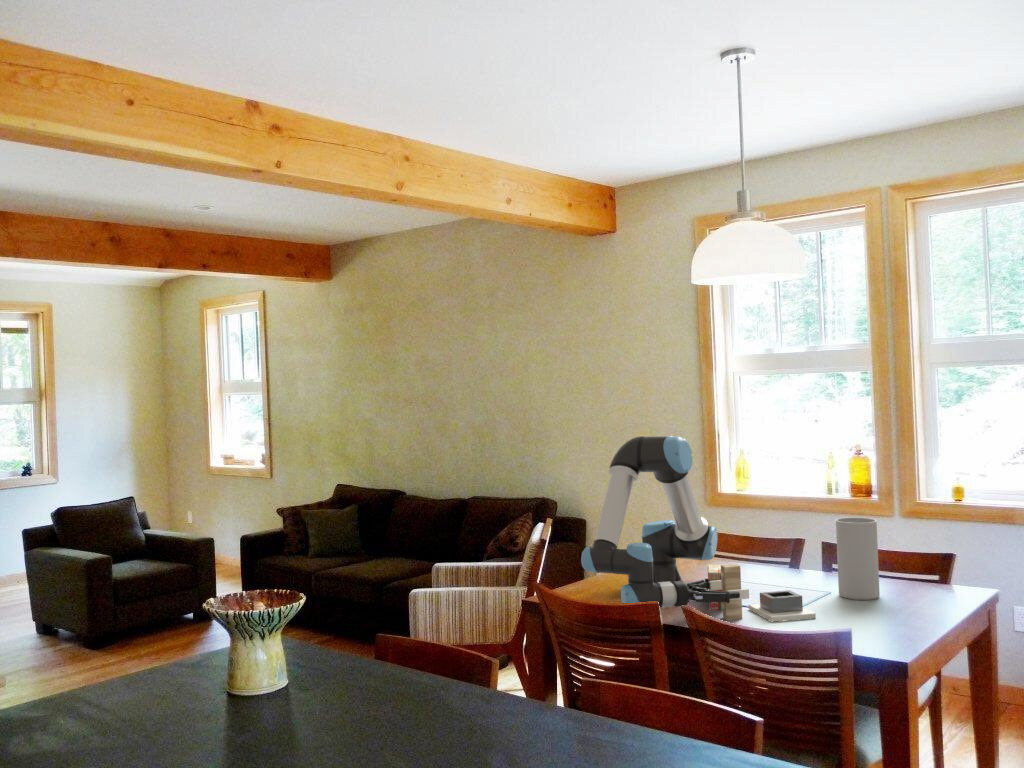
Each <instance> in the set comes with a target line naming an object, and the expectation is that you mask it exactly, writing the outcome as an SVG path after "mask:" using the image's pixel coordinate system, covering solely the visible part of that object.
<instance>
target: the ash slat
mask: <svg viewBox="0 0 1024 768" xmlns="http://www.w3.org/2000/svg"><path fill="white" fill-rule="evenodd" d="M720 565H721V585H722V591H725V592H726V591H727V590H740V589H742V578H741V577H742V576H741V575H742V574H741V565H739V564H737V563H733V564H720ZM742 600H743V599H737V600H730V602H729V603H727V602H722V610H721V611H722V619H725V620H726V621H730V620H729V619H732V620H739V618H742V619H743V602H742Z"/></svg>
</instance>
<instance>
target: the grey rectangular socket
mask: <svg viewBox="0 0 1024 768" xmlns="http://www.w3.org/2000/svg"><path fill="white" fill-rule="evenodd" d="M759 604H760V607H761V608H763V609H765V610H767V611H768V612H770V613H783V612H794V611H803V608H804V607H803V605H804V604H803V595H801V594H800V593H796V592H794V591H792V590H789V589H788V590H778V591H767V592H765V591H764V592H759Z"/></svg>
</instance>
